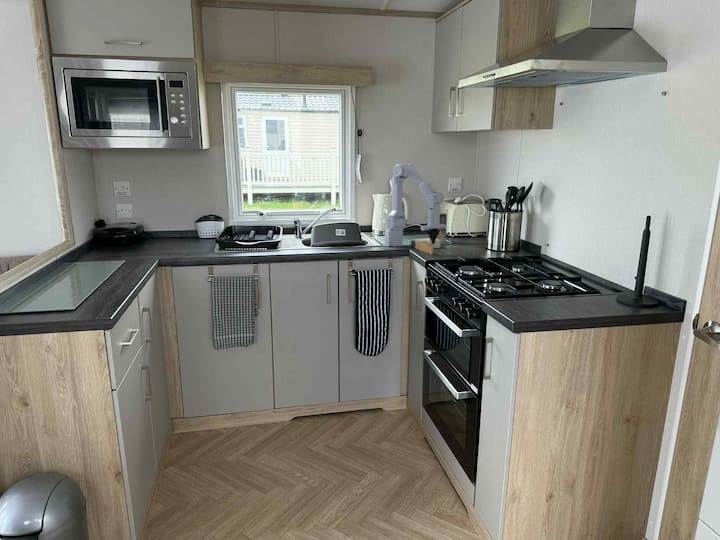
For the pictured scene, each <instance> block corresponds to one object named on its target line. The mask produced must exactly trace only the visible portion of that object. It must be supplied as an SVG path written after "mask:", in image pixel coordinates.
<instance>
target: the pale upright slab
mask: <svg viewBox="0 0 720 540" xmlns="http://www.w3.org/2000/svg"><path fill="white" fill-rule="evenodd" d="M428 240H430V238H429V237H428V238H411V239H410V247H411V248H412V247H413V248H412V249H415V248H416V250H417V242H420V243H423V244H426V245H428ZM441 244H442V243H441V240H438V239H436V241H435V244H432V246H433V249H437V248H438V249H439V248H441Z"/></svg>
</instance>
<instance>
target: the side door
mask: <svg viewBox="0 0 720 540" xmlns="http://www.w3.org/2000/svg"><path fill="white" fill-rule="evenodd" d="M417 249H418V250H417ZM417 249H416V250H417V251H421V252H423V253H425V254H428V253H429V254H428V255H433V254H434V248H433V246H432V240H428V245H426V244H423V243H420V242H417Z"/></svg>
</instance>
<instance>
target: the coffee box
mask: <svg viewBox="0 0 720 540" xmlns="http://www.w3.org/2000/svg"><path fill="white" fill-rule="evenodd" d="M441 224H444V225H446V229H438V230H440V232H439V234H438V236H437V238H436V239H438V240H441V243H440V244H445V243H447V228H448V227H447V224H448V213H443V212H440V223H439V225H441ZM428 238H430V237H429V236H428Z"/></svg>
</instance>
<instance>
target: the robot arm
mask: <svg viewBox="0 0 720 540" xmlns="http://www.w3.org/2000/svg"><path fill="white" fill-rule="evenodd" d="M408 178H410V179H411V180H412V181H413V182H414V183H416V185H418V186H419V191H420V192H421V193H422V194H423V196H424V197H425V198H426V203H427V207H428V215H427V217H428V218H427V220H428V221H427V225H422V226H420V231H422V232H424V231H426V232H427V234H428V238H429V237H430V240H432V244H435V241H436V238H437V236H438V234H439V232H440V230H438V229H446V225H444V224H441V225H439V223H440V213H441V204H442V203H443V201H444V195H443V194H442V192H440V191H437V189H435V188H434V187H433V186H432V184H431V182H429V181H425V180H424V179H423V177H421V175H420V173H419V172H418V171H417V168H416V166H414V164H412V163H397V164H396V165H395V166H394V167H393V174H392V182H391V183H392V186H391V188H392V190H391V191H392V192H391V193H392V194H391V197H392V199H391V200H392V201H391V212H389V214H387V220H386V225H387V228H388V229H385V232H384V243H383V244H384V245H385V246H387V247H389V246H393V247H405V246H406V244H404V243H403V242H404V241H403V238H404V229H405V227H406V226H407V218H406V214H405V212H404V211H403V193H404V191H403V189H404V187H403V186H404V185H403V182H404V181H405V180H406V179H408ZM446 230H447V229H446Z"/></svg>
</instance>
